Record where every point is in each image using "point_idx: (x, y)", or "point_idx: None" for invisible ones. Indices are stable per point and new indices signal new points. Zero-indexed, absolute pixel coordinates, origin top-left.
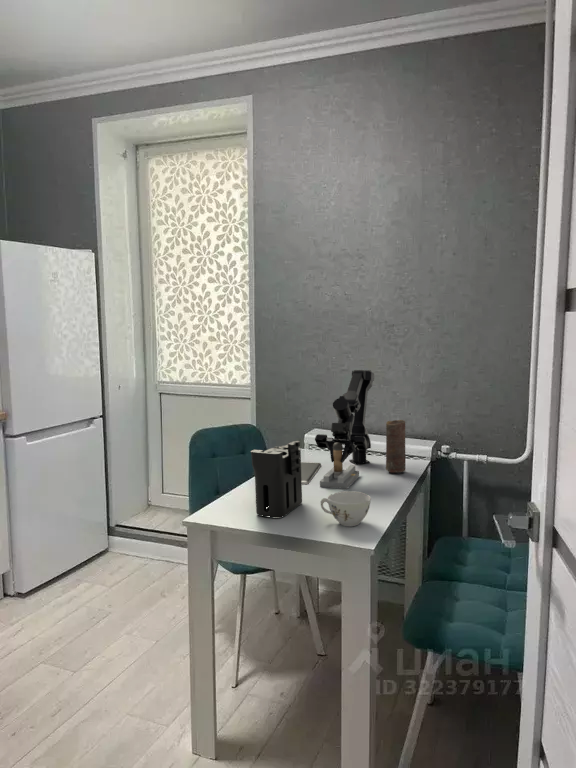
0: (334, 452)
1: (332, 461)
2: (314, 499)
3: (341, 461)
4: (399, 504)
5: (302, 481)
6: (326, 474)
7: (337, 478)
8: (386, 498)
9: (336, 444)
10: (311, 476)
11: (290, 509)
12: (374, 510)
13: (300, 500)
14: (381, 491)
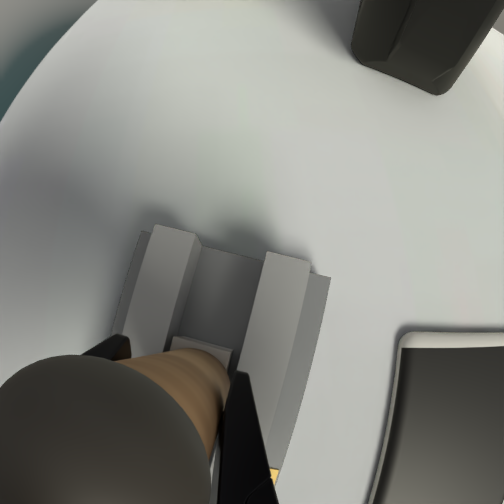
0: (183, 393)
1: (234, 373)
2: (316, 89)
3: (123, 335)
4: (22, 87)
5: (432, 338)
6: (290, 310)
7: (204, 342)
8: (29, 128)
9: (59, 414)
10: (387, 456)
11: (360, 2)
12: (104, 32)
13: (354, 30)
14: (15, 210)
